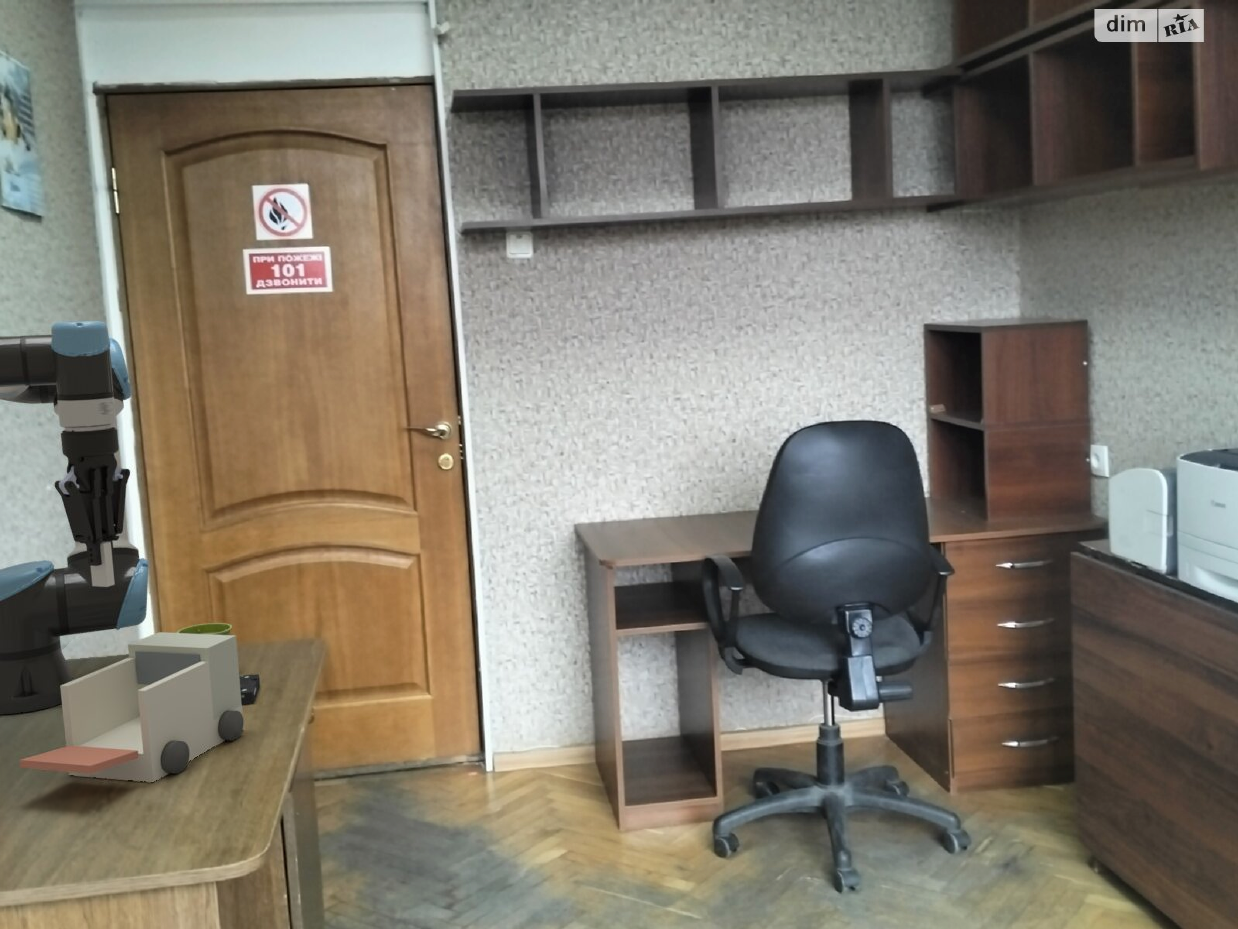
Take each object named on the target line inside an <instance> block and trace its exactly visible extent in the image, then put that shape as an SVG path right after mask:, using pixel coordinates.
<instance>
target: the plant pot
mask: <svg viewBox="0 0 1238 929" xmlns="http://www.w3.org/2000/svg"><path fill="white" fill-rule="evenodd" d="M232 629H233V625H232V624H229V623H226V622H213V623H211V622H210V623H200V624H199V623H198V624H194V625H190V626H187V627H183V628H180V629H178V630H177V631H176V633H188V634H211V635H231V634H230V633H231V630H232Z"/></svg>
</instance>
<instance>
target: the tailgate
mask: <svg viewBox="0 0 1238 929" xmlns="http://www.w3.org/2000/svg"><path fill="white" fill-rule="evenodd" d="M137 758H138V751H136V750H123V749H110V748H97V747H84V746H71V745H70V746H67V747H66V746H63V747H59V748H57V749H52V750H50V751H47V752H42V753H39V754H36V755H33V756H28V757H24V758H21V759H19V768H20V769H31V770H43V771H44V770H45V771H54V772H55V771H56V772H65V773H67V772H68V773H69V772H77V773H89V774H91V773H94V772H97V771H100V770H103V769H106V768H109V767H112V766H115V765H118V764H121V763H124V762H127V761H131V760H134V759H137Z"/></svg>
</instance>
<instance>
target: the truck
mask: <svg viewBox="0 0 1238 929" xmlns="http://www.w3.org/2000/svg"><path fill="white" fill-rule="evenodd" d="M237 644H238V643H237V635H235V634H233V635H231V634H230V635H211V634H188V633H177V632H161V631H160V632H159V631H158V632H156V633H153V634H151V635H148V636H146V637H143V638H141V639H137V640H136V641H133V642H130V643H129V644H127V648H128V649H127V650H128V657H126V658H124V659H122V660H120V661H117V662H115V663H112V664H110V665H107V666H105V667H103V668H99V669H97V670H95V671H93V672H90V673H87V674H86V675H83V676H81V677H78V678H75V680H73V681H71V682H68V683H66V684H63V685H61V686H60V688H61V698H62V703H61V708H62V716H63V717H62V718H63V727H64V737H65V738H64V739H65V747H67V746H70V745H71V746H84V747H97V748H110V749H123V750H136V751H138V758H137V759H134V760H131V761H127V762H124V763H121V764H118V765H115V766H112V767H109V768H106V769H103V770H100V771H97V772H94V773H91V774H89V773H77V772H68V776H70V775H74V776H73V777H84V778H93V777H96V779H105V778H106V779H108V780H119V781H128V780H133V781H132V782H140V781H143V783H151V782H154V781H155V782H157V781H159V780H160V779H162V778H164V777H166V776H168V775H169V774H180V773H182V772H183V771H184V770H185V769H186V768H187V765H188V763H190V762H191V761H193V760H195V759H196V758H195V757H197V756H198V757H200V756H201V755H200V754H202V753H203V754H205V753H206V751H207V750H208V749H210V750H212V749H213V748H212V747H213V746H215V747H217V746H218V745H217V744H219V743H221V744H222V743H224V742H225V740H226V741H236V740H237V739H239V738H240V736H241V735H242V733H243V731H244V730H243V729H244V716H243V705H242V704H241V691H240V679H239V676H240V669H239V657H238V654H239V653H238V645H237ZM242 730H243V731H242ZM235 739H236V740H235ZM223 741H224V742H223ZM216 745H217V746H216ZM219 745H220V744H219ZM211 748H212V749H211ZM204 752H205V753H204ZM207 752H208V751H207ZM203 754H202V755H203ZM199 755H200V756H199ZM198 757H197V758H198ZM194 758H195V759H194ZM190 760H191V761H190ZM189 761H190V762H189ZM168 773H169V774H168ZM161 777H162V778H161ZM156 780H157V781H156ZM144 781H146V782H144ZM155 782H154V783H155Z"/></svg>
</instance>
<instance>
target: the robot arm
mask: <svg viewBox="0 0 1238 929" xmlns="http://www.w3.org/2000/svg"><path fill="white" fill-rule="evenodd" d="M124 357H125V356H124V353H123V349H122V347H121V345H120V343H119V342H118V341H117V340H116V339H114V338H113V337H109V331H108V326H107V324H106V323H105V322H103V321H102V320H101V321H100V320H85V321H82V320H81V321H80V320H79V321H57V322H55V323H53V324H52V326H51V334H35V335H34V334H33V335H31V334H30V335H18V336H17V335H11V336H10V335H9V336H5V335H3V336H0V400H1V401H6V402H10V403H11V402H12V403H19V404H31V405H37V404H40V405H41V404H53V411H54V414H55V415H57V416H58V420H59V426H60V427H61V428H63V429H64V430H62V431H61V433H60V437H61V438H60V439H61V440H60V441H61V448H62V455H63V456H65V457H66V458H67V462H68V463H67V466H66V475H65V476H64V477H63V479H61V480H55V482H54V485H53V486H54V489H56V491H57V492H58V493H59V494H58V495H59V496H60V497H61V500H62V503H63V508H64V510H65V511H64V512H65V514H66V515H65V516H66V517H67V522H68V524H69V527H70V531H71V534H72V539H73V541H74V544H75V546H74V549H73V550H72V551H70V553H69V554H68V555H67V557H66V562H67V563H66V564H67V567H62V568H55V565H54V564H53V562H52V561H51V560H38V561H36V560H35V561H29V562H24V563H23V562H22V563H19V564H14V565H11V566H9V567H4V568H0V715H12V714H22V713H21V712H23V713H28V712H33V711H34V712H35V711H38V710H43V709H47V708H51V707H54V706H57V705H59V704H62V698H61V688H60V686H61V685H63V684H66V683H68V682H71V681H73V680H76V678H75V676H74V675H72V674H71V670H70V667H69V665H68V663H67V660H66V658H65V655H64V653H63V652H62V646H61V645H62V644H61V637H64V636H72V635H78V634H79V635H81V634H87V633H95V632H102V631H107V630H109V631H110V630H115V629H116V630H117V631H119V630H120V629H124V628H129V627H135V626H138V625H141V624H142V623H143V622H144V621H145V620H146V618H147V617H146V616H147V609H148V607H147V606H148V588H149V587H148V586H149V559H147V558H144V557H142V558H140V553H139V552H140V551H139V548H137V547H136V546H134V545H133V544H132V543H131V542H130V541H129V535H128V525H127V524H128V522H127V514H126V494H127V484H128V482H129V478H130V475H131V470H130V469H129V468H122V463H121V456H120V455H121V454H120V444H119V434H118V425H117V422H118V421H117V416H118V415H119V414H120V413H121V412H122V411H123V409H124V408H125V405H124V404H125V403H124V401H126V400H129V399H131V397H132V390H131V384H130V380H129V373H128V370H127V369H128V368H127V365H126V361H125V358H124ZM116 630H115V631H116Z"/></svg>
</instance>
